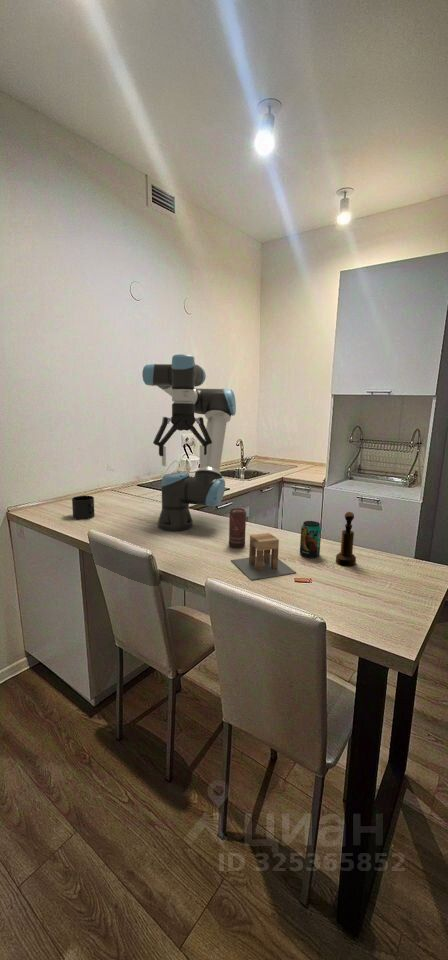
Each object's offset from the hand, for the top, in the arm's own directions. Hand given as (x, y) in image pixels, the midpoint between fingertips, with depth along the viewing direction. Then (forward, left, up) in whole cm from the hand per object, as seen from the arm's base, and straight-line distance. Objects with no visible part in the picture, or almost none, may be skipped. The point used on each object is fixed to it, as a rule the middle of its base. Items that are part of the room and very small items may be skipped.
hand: (183, 464), depth 137 cm
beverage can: (+18, +42, -32) cm, 56 cm away
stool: (+22, +21, -31) cm, 44 cm away
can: (+1, +21, -32) cm, 38 cm away
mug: (-55, -31, -32) cm, 71 cm away
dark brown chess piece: (+28, +50, -32) cm, 66 cm away
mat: (+22, +21, -32) cm, 44 cm away
